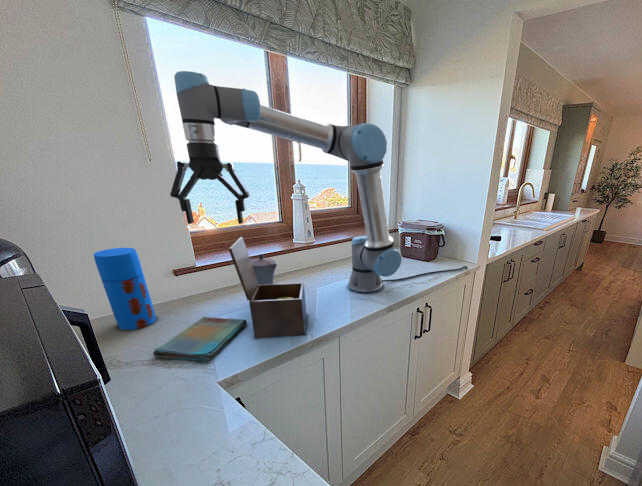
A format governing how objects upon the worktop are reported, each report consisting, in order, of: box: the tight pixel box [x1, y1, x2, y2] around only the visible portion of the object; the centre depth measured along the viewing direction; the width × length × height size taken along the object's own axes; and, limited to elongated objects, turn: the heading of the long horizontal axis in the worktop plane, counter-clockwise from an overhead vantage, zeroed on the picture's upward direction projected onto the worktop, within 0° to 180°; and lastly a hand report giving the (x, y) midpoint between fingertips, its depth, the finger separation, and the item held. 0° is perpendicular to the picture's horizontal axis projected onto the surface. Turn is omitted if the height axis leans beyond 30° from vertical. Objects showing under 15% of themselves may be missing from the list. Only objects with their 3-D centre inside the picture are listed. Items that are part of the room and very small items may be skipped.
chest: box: [248, 282, 307, 339], centre depth 109 cm, size 16×15×13 cm
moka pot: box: [250, 254, 278, 285], centre depth 124 cm, size 10×15×20 cm, turn 78°
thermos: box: [93, 247, 157, 331], centre depth 106 cm, size 11×11×25 cm
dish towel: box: [152, 316, 248, 363], centre depth 102 cm, size 17×23×2 cm
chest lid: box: [228, 236, 258, 301], centre depth 101 cm, size 16×15×1 cm
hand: (216, 223), depth 95 cm, fingers open, 13 cm apart
